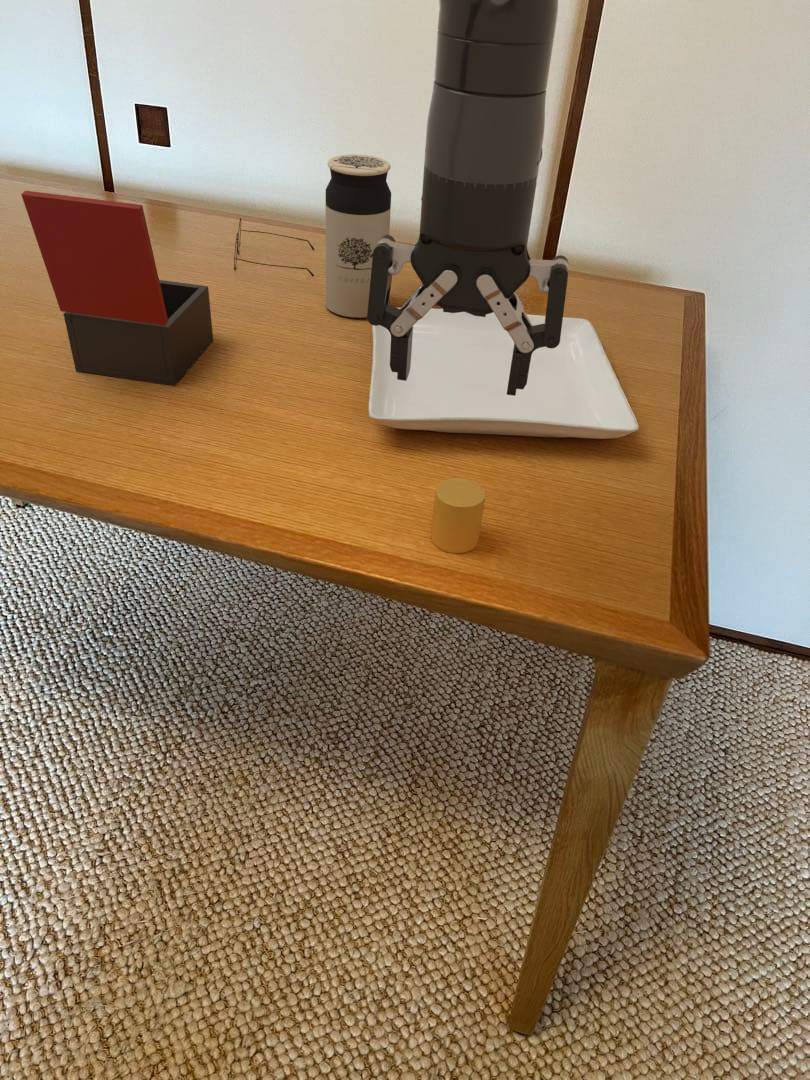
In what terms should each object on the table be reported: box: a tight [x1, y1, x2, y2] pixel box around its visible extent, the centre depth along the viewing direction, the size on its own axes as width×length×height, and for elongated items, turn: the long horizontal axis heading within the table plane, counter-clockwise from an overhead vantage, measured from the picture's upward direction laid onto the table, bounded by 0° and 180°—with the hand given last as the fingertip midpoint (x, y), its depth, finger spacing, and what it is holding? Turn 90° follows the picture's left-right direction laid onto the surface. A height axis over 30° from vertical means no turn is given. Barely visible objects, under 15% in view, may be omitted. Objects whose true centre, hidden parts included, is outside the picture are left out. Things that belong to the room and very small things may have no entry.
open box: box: [63, 279, 214, 387], centre depth 92 cm, size 12×12×7 cm
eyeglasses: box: [233, 217, 315, 277], centre depth 117 cm, size 11×13×5 cm
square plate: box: [367, 307, 640, 440], centre depth 91 cm, size 27×27×4 cm
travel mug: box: [325, 154, 392, 319], centre depth 102 cm, size 8×8×18 cm
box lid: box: [20, 190, 168, 326], centre depth 80 cm, size 13×12×1 cm
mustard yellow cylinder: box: [430, 477, 486, 554], centre depth 70 cm, size 4×4×5 cm
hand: (457, 383), depth 64 cm, fingers open, 8 cm apart
